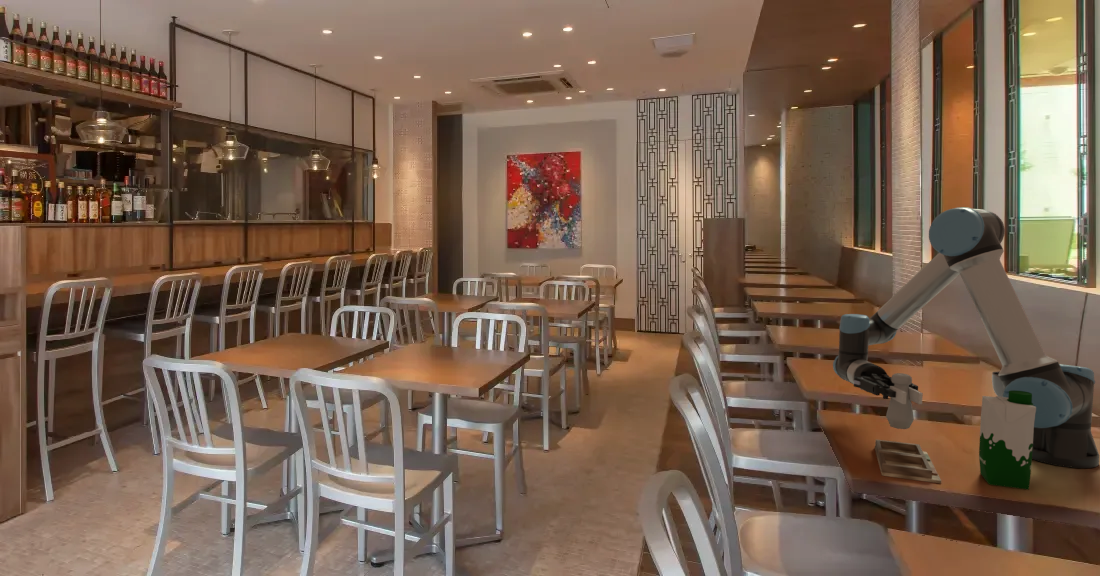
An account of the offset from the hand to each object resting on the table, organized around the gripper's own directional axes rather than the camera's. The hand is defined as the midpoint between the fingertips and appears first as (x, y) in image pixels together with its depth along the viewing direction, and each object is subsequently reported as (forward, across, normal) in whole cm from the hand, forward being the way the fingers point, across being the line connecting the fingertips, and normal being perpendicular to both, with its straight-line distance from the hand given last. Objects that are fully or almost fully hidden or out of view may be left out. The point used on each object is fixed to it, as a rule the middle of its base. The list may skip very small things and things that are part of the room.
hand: (912, 398), depth 143 cm
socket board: (0, +1, -16) cm, 16 cm away
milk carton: (+9, -16, -16) cm, 24 cm away
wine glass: (-35, -44, -16) cm, 58 cm away
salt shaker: (-5, 0, -9) cm, 10 cm away
